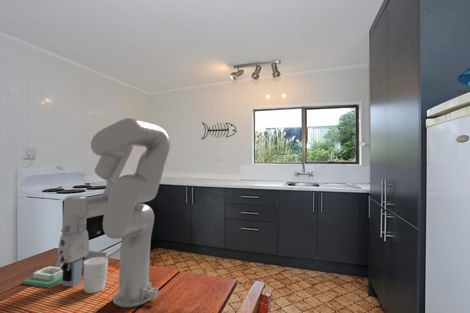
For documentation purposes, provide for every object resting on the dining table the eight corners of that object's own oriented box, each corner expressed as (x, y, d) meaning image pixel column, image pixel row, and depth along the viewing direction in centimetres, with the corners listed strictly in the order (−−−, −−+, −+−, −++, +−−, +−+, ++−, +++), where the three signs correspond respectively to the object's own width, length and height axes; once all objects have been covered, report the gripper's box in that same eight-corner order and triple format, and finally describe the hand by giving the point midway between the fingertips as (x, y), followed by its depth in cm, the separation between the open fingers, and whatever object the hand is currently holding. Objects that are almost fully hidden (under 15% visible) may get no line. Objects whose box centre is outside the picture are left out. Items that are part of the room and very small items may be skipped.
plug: (81, 282, 95) (82, 258, 96) (73, 286, 92) (74, 261, 92) (67, 280, 96) (69, 256, 97) (59, 284, 93) (60, 260, 93)
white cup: (79, 288, 90) (80, 260, 91) (102, 281, 96) (103, 255, 97) (86, 296, 85) (87, 266, 86) (110, 289, 91) (111, 260, 91)
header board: (76, 274, 102) (77, 266, 102) (49, 287, 91) (49, 279, 91) (52, 270, 105) (52, 263, 105) (22, 283, 93) (23, 275, 93)
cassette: (106, 269, 107) (107, 251, 108) (103, 271, 106) (104, 253, 106) (83, 266, 110) (84, 249, 110) (80, 268, 108) (81, 250, 109)
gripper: (63, 235, 86) (60, 289, 85) (99, 224, 102) (96, 270, 101) (45, 233, 88) (42, 287, 87) (83, 223, 104) (81, 268, 103)
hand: (71, 277), depth 94 cm, fingers closed on plug, 3 cm apart
